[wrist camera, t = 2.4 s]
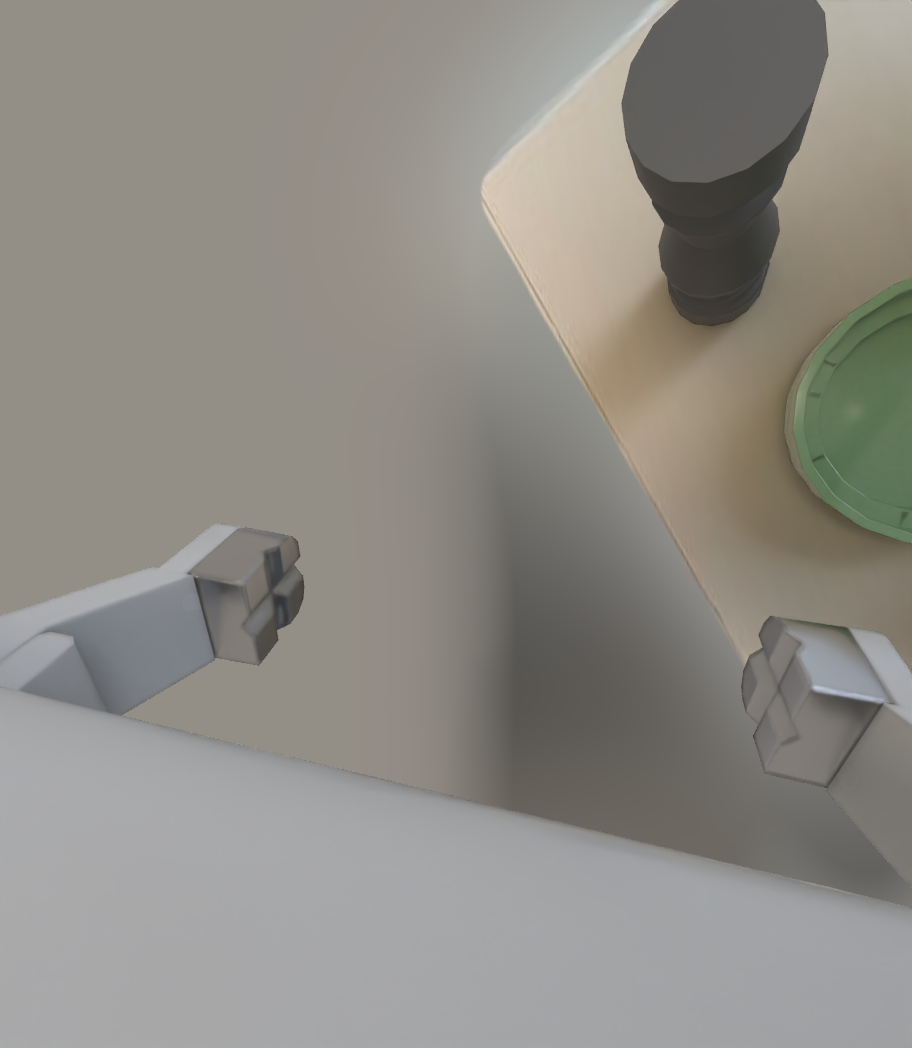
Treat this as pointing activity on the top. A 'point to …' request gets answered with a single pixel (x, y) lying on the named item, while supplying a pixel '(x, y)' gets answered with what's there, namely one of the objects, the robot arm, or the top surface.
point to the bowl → (859, 415)
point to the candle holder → (721, 138)
